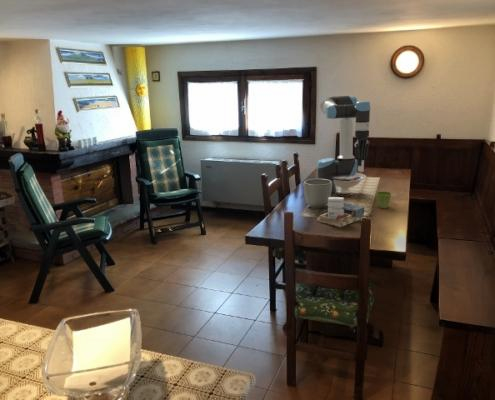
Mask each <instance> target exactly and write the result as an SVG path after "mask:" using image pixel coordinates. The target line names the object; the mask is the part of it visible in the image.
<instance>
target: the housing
mask: <svg viewBox="0 0 495 400" xmlns="http://www.w3.org/2000/svg"><path fill="white" fill-rule="evenodd" d="M344 210H346V211H350V212H352V211H355V217H359V216H361V215H364V211H365V207H364V206H361V205H355V204H352V203H347V202H344Z"/></svg>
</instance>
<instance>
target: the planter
mask: <svg viewBox="0 0 495 400" xmlns="http://www.w3.org/2000/svg"><path fill="white" fill-rule="evenodd" d="M331 192H332V181H331V180H328V179H317V178H309V179H306V180H304V181H303V194H304V195H303V196H304V200H305V202H306V204H307V205H309V207H310V208H312V209H315V210H317V209H318V210H319V209H324V208H325V207H326V206H328V197H332V194H331Z"/></svg>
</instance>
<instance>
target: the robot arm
mask: <svg viewBox="0 0 495 400" xmlns="http://www.w3.org/2000/svg"><path fill="white" fill-rule="evenodd" d="M320 110H321V112H322V113H323V114H325V117H326V118H327V119H328V120H329V119H331V120H334V119H339V155H338V156H337V159H335V158H334V157H327V158H325V157H324V158H322V159H319V160H318V161H317V166H316V179H328V180H331V181H332V192H331V195H334V194H337V192H338V191H337V186H336V182H335V178H350V177H354V176H356V174H357V172H360V173H361V172H362V173H363V172H364V168H365V161H366V160H367V158H368V153H369V147H370V144H371V141H369V140H368V137H370V119H371V117H370V116H371V102H370V101H366V100H364V101H363V100H362V101H358V99H357V98H356V96H355V95H339V96H338V95H337V96H329V97H326V98H324V99H323V100H322V101H321V103H320ZM354 118H355V126H354ZM354 128H355V129H354ZM353 129H354V130H355V131H354V130H353ZM354 136H355V138H356V140H355V143H354V142H353V140H354ZM353 148H354V149H353ZM353 150H354V155H353Z"/></svg>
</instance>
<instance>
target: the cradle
mask: <svg viewBox="0 0 495 400" xmlns="http://www.w3.org/2000/svg"><path fill="white" fill-rule="evenodd" d="M365 216H367V217H369V216H371V212H369V211H365V210H364V215H361V216H359V217H355V211H352V212H350V211H346V210H344V218H341V219H339V220H337V219H333V218H329V217H328V212H325V213H323V214H320V215H319V217H317V218H316V221H317V222H319V223H324V224H326V223H327V224H326V225H330V226H333V225H334V226H333V227H337V228H342V226H343V227H344V226H347V224H348V225H350V224H352V223H355V222H357V221H359V220H362V219H363V218H362V217H365ZM361 218H362V219H361ZM365 218H366V217H365Z"/></svg>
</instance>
